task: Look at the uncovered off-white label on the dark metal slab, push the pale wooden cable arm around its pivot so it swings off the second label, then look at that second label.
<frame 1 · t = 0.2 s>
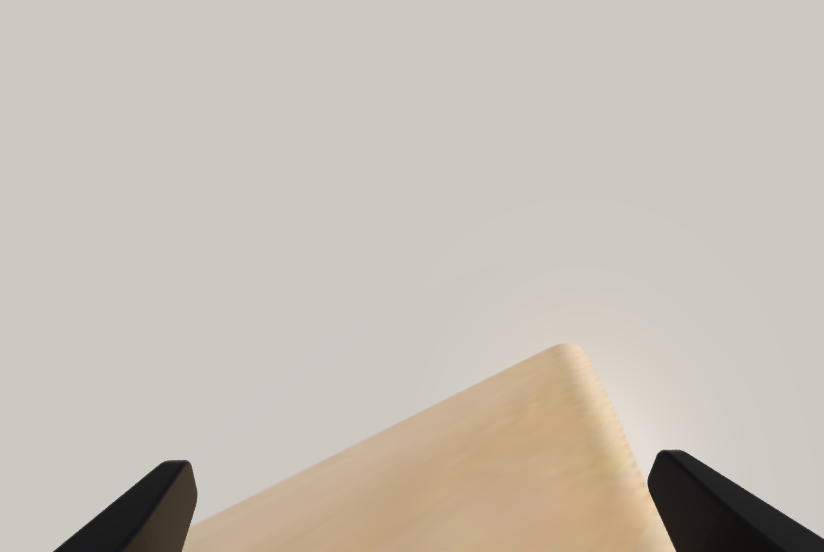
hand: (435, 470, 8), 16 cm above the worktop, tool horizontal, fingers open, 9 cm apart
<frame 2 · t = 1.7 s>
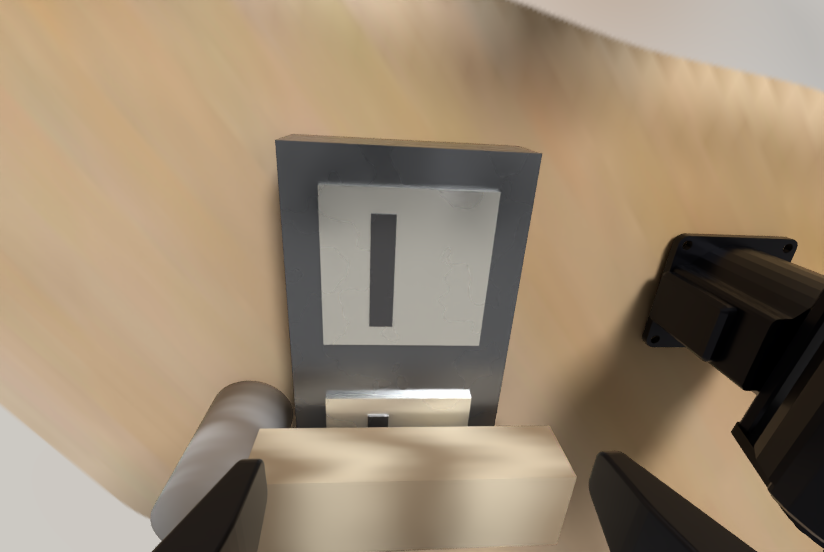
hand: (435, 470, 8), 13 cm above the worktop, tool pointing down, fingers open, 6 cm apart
cable arm: (370, 457, 20), point 4 cm above the worktop, hinge at 0.0°
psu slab: (398, 335, 22), on the worktop
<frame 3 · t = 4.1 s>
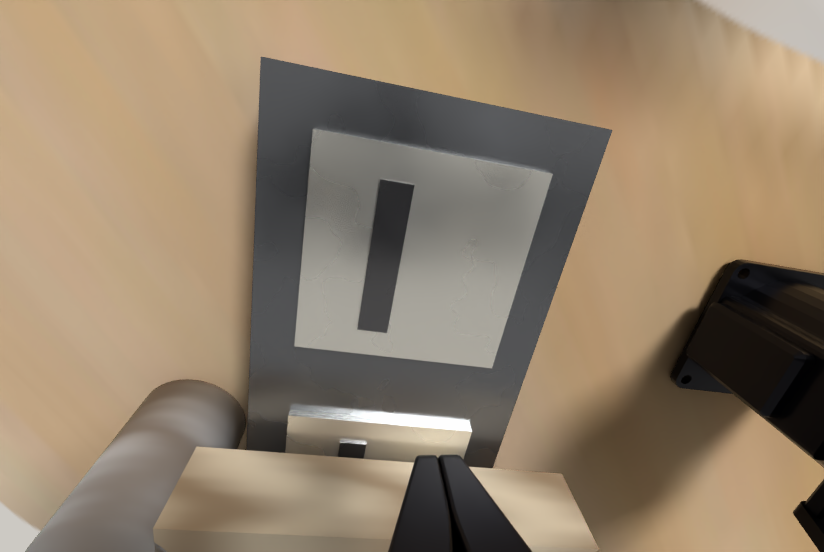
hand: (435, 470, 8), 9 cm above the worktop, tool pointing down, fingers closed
cable arm: (336, 492, 16), point 4 cm above the worktop, hinge at 0.0°
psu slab: (387, 342, 18), on the worktop
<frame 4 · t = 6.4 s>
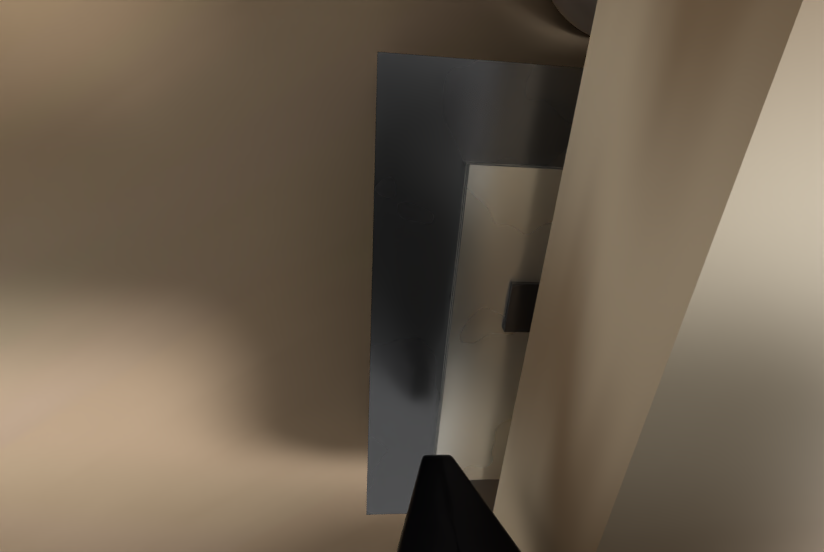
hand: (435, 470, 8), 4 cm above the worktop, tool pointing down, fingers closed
cable arm: (647, 298, 7), point 4 cm above the worktop, hinge at 0.1°, touching gripper
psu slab: (722, 288, 11), on the worktop
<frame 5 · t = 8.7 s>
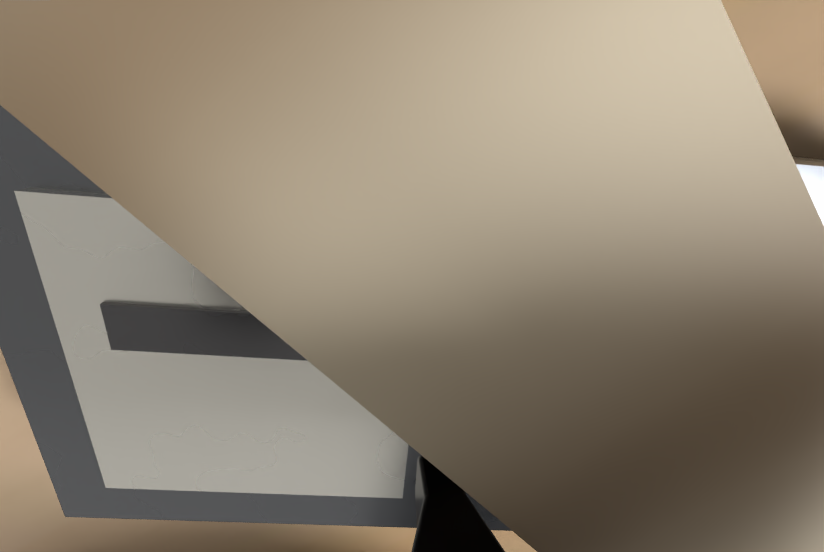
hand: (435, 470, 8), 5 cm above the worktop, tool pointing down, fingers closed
cable arm: (507, 238, 7), point 4 cm above the worktop, hinge at 46.2°, touching gripper
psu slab: (462, 312, 12), on the worktop
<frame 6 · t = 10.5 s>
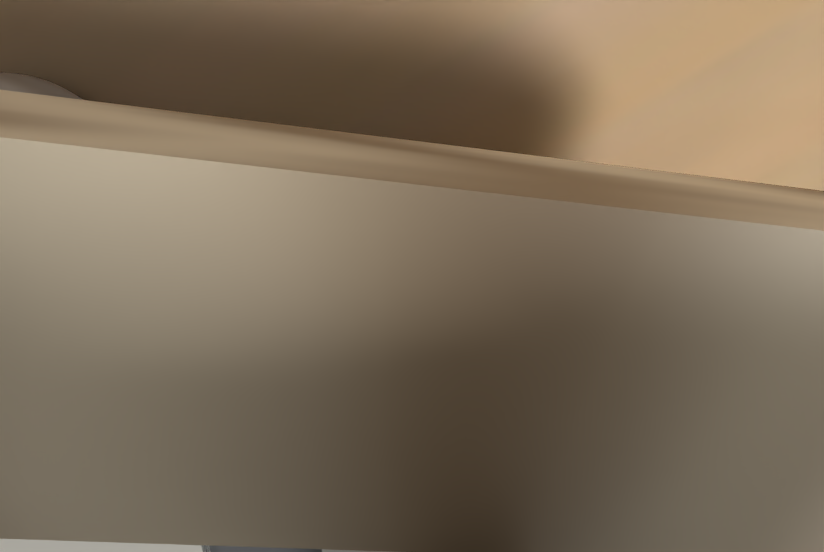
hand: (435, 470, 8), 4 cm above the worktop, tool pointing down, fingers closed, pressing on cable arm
cable arm: (316, 265, 7), point 4 cm above the worktop, hinge at 87.1°, touching gripper
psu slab: (291, 435, 13), on the worktop
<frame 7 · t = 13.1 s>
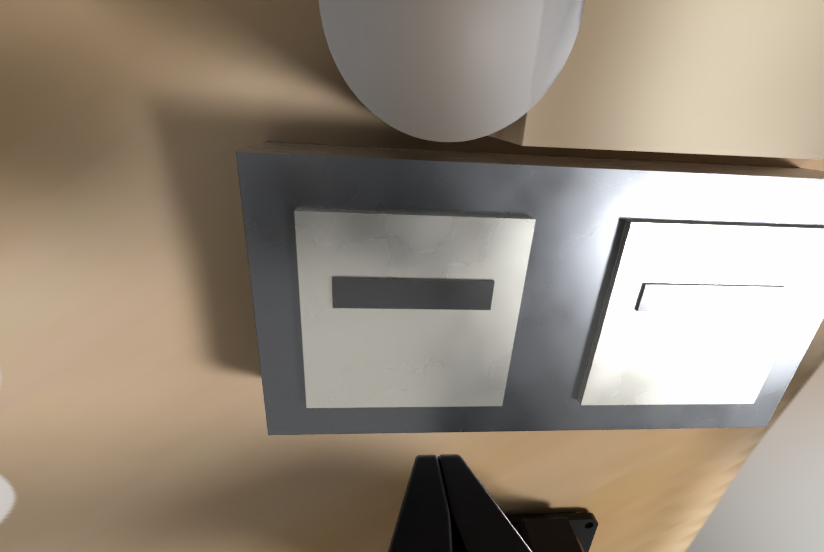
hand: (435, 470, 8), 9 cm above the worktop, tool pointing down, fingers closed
cable arm: (691, 51, 10), point 4 cm above the worktop, hinge at 90.3°
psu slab: (527, 282, 16), on the worktop
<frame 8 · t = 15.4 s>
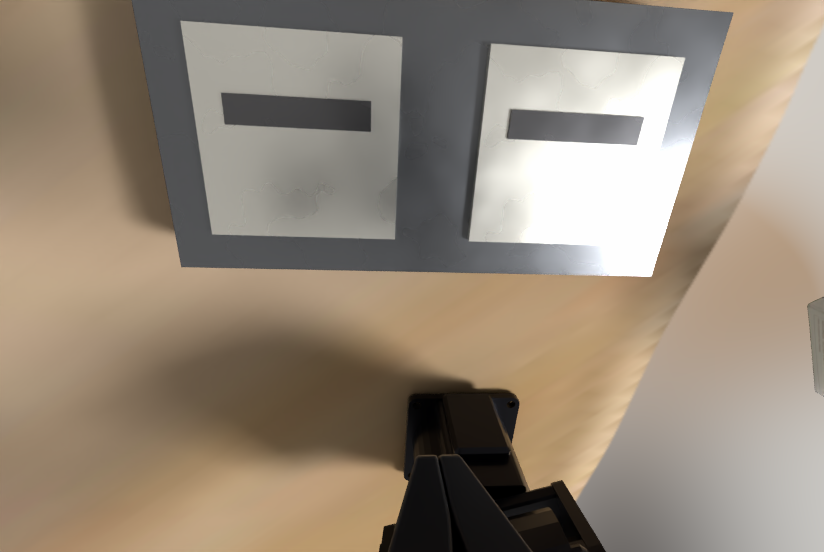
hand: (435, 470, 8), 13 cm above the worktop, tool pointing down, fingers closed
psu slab: (428, 141, 18), on the worktop
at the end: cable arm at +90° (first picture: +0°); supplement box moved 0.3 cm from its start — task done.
